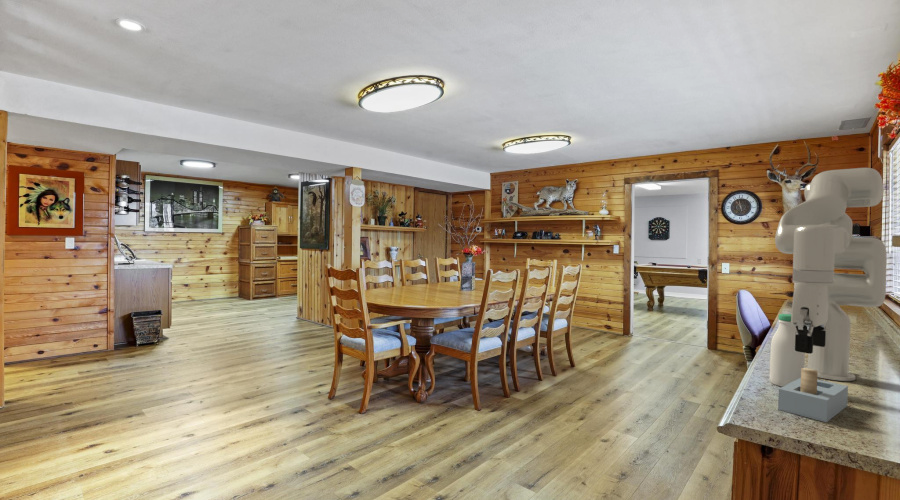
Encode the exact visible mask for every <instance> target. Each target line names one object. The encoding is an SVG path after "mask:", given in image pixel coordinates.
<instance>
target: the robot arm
mask: <svg viewBox="0 0 900 500" xmlns="http://www.w3.org/2000/svg"><path fill="white" fill-rule="evenodd" d="M884 188H885V187H884V183H883V178H882V175H881V173H880V172H879V171H878V170H876V169H875V168H871V167H857V168H843V169H841V168H840V169H831V170H825V171H821V172H819V173H818V174H816V175H815V176H814V177H813V178H812V180H811V181H810V182H809V183H808V184H806V185H805V187H804V191H803V195H804V199H805V201H802V203H799V204H797V205H795V206H794V207H792V208H791V209H789V210H786V212H785V213H783V215H781V218H780V220H779V222H778V225H777V228H776V232H775V236H774V244H775V247H776V249H777V250H778V251H779V252H780V253H782V254H786V255H793V256H792V258H793V259H792V283H793V284H795V285H794V288H793V295H792V304H791V322H792V324H795V325H796V324H797V325H796V331H795V351H797V352H803V353H805V354H808V355H807V356H808V357H807V365H804V368H808V369H813V370H817V371H818V375H817V378H820V379H826V380H831V381H839V382H840V381H841V382H852V381H855V380H856V374H854V373H852V372H849V370H850V367H849V366H850V349H851V348H850V346H851V344H850V343H851V319H850V317H849V315H848V314H847V312H845V311H844V310H843V309H842V308H841V307H840V306H851V307H853V306H854V307H861V308H862V307H863V308H878V307H880V306H882V305H883V304H884V302H885V301H886V300H885V299H886V292H887V291H886V290H887V289H886V288H887V262H888V259H887V249H886V248H887V247H886V245H885V243H884V242H883V241H882V240H881V239H878V238H876V237H853V220H852V218H851V217H850V216H849V215H848V214H847V213H846V210H847V208H866V207H867V208H868V207H869V208H870V207H875V206H877V205H879V204H880V203H881V201H882V200H883V197H884V192H885V190H884ZM835 269H839V270H842V269H843V270H860V271H863V272H864V273H865V274H863V273H861V274H858V273H844V272H842V273H841V272H835Z"/></svg>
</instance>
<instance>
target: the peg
mask: <svg viewBox="0 0 900 500" xmlns="http://www.w3.org/2000/svg"><path fill="white" fill-rule="evenodd" d="M817 375H818V371H817V370H813V369H808V368H802V369H801V389H800V392H805V393H809V394H813V395H817V380H818V377H817Z"/></svg>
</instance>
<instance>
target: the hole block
mask: <svg viewBox="0 0 900 500" xmlns="http://www.w3.org/2000/svg"><path fill="white" fill-rule="evenodd" d="M800 389H801V378H799V379H797V380H795V381H793V382H791V383H789V384H787V385H785V386H783V387H781V386H780V388H778V401H777V402H778V403H777V410H778V411H782V412H786V413H789V414H794V415H796V416H800V417H805V418H808V419H813V420H816V421H820V422H822V423H828V422H829V421H830V420H831V419H832V418H834V417H835V416H837V415H838V414H839V413H840V412H842V411H843V410H844V409H845V408H847V407H848V397H849V396H848V394H849V385H844V384H841V383H836V382H831V381H826V380H821V379H817V395H813V394H809V393H805V392H800Z"/></svg>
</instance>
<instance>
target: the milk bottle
mask: <svg viewBox="0 0 900 500" xmlns="http://www.w3.org/2000/svg"><path fill="white" fill-rule="evenodd" d="M791 314H792V313H791ZM791 314H790V313H779V314H778V317H777V318H778V323H779V324H778V327H777V330H776V332H774V334H773V336H772V338H771V342H770V343H771V344H770V356H769V382H770V383H771V384H773V385H775V386H778V387H780V388H781V387H783V386H785V385H787V384H789V383H791V382H793V381H795V380H797V379H799V378H801V369H802V368H804V366H805V354H806V353H803V352H797V351H795V331H796V325H797V324H796V325H795V324H792V322H791Z"/></svg>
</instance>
